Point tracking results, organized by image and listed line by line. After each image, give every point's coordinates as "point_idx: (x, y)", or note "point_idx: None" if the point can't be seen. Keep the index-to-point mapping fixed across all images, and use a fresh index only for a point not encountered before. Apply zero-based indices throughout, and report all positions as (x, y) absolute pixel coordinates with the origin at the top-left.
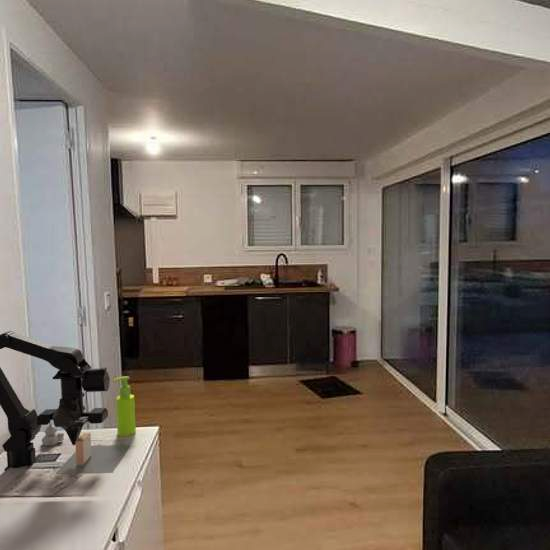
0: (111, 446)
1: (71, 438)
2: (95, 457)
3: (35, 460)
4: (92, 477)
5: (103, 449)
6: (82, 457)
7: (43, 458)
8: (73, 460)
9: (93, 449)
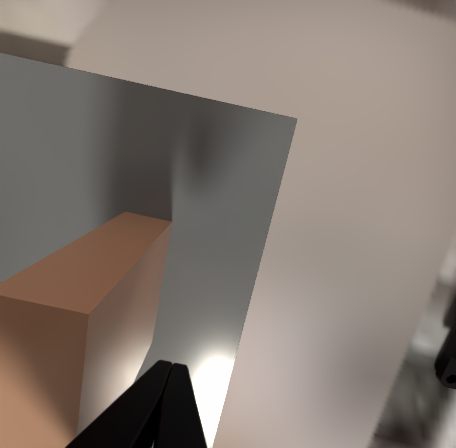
0: None
1: (174, 422)
2: None
3: (453, 351)
4: (32, 38)
5: None
6: (106, 226)
7: (399, 393)
8: (208, 295)
9: None
